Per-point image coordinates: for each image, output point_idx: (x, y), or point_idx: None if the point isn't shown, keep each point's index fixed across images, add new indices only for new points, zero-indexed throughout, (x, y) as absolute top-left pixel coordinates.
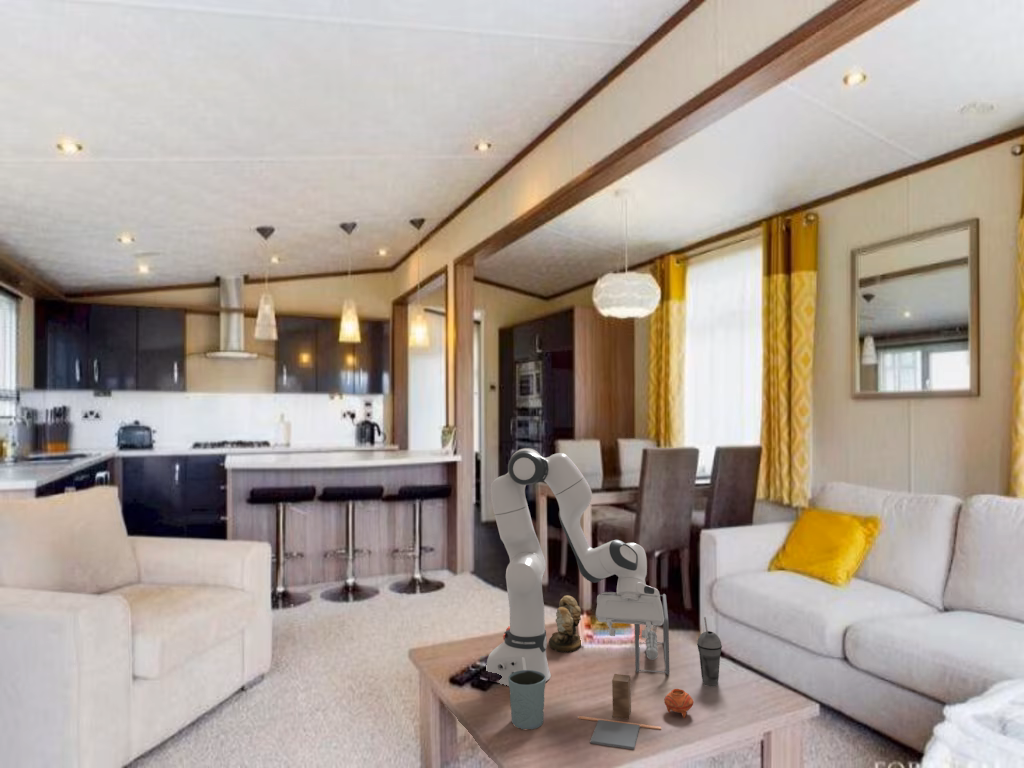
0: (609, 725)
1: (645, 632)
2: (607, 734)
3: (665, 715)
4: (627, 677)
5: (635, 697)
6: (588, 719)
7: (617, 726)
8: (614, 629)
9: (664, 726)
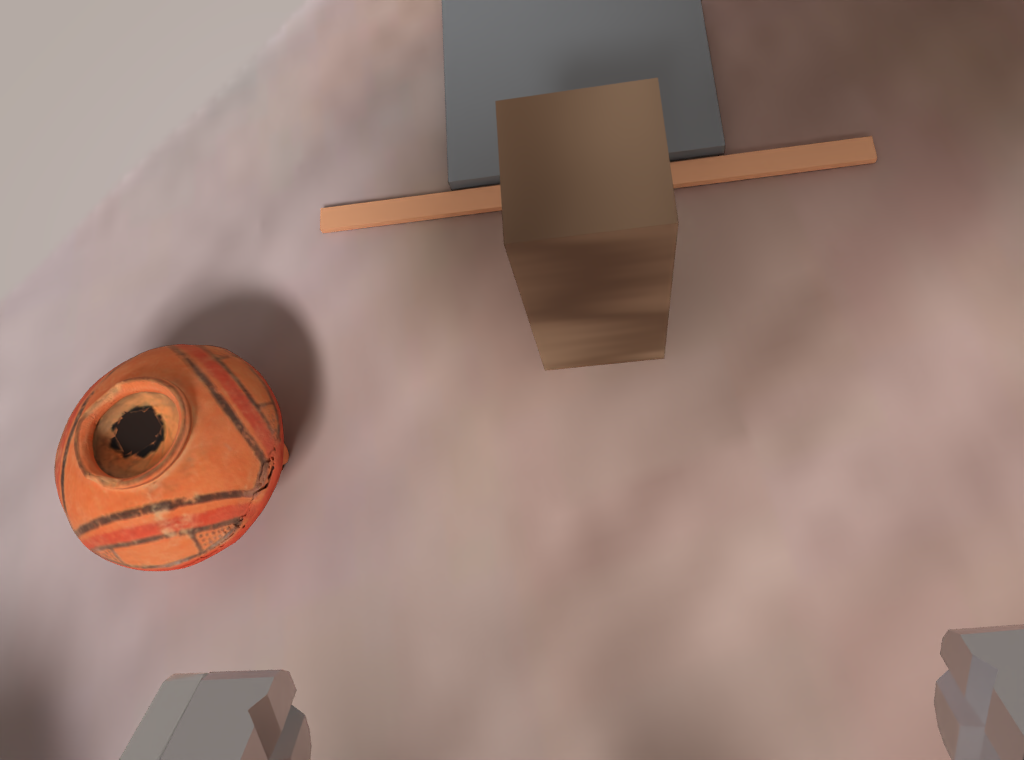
0: None
1: (162, 729)
2: (612, 11)
3: (306, 405)
4: (523, 189)
5: (561, 628)
6: (797, 146)
7: None
8: (1006, 704)
9: (305, 260)
